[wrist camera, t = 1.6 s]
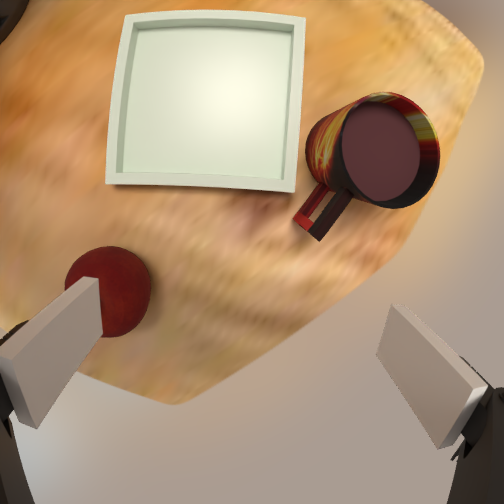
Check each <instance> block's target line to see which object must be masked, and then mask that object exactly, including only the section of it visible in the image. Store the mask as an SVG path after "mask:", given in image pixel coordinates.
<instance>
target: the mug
mask: <svg viewBox="0 0 504 504" xmlns="http://www.w3.org/2000/svg"><path fill="white" fill-rule="evenodd" d="M305 154H306V161H307V164H308V168H309V170H310V172H311V173H312V175H313V177H314V178H315V179H316V180H317V182H319V184H318V185H317V187H316V188H315V189H314V191H313V192H312V194H311V195H310V196H309V198H308V199H307V200H306V202H305V203H304V205H303V206H302V207H301V209H300V210H299V211H298V212H297V214H296V215H295V216H294V217H293V219H294V220H295V221H296V222H297V223H298V224H299V225H300V226H301V227H302V228H304V229H305V230H307V231H308V232H309V233H310V234H311V235H312V236H313V237H314V238H315V239H317V240H318V241H319V242H320V241H321V239H322V238H323V237H324V236H325V235H326V233H327V232H328V231H329V229H330V228H331V227H332V225H333V224H334V223H335V221H336V220H337V219H338V217H339V216H340V214H341V213H342V212H343V210H344V209H345V208H346V206H347V205H348V203H349V202H350V201H351V199H352V198H355V199H358V200H361V201H364V202H367V203H371V204H374V205H377V206H380V207H383V208H390V209H397V208H404V207H407V206H410V205H412V204H414V203H416V202H418V201H419V200H420V199H421V198H423V197H424V196H425V195H426V194H427V193H428V191H429V190H430V188H431V187H432V185H433V183H434V181H435V179H436V177H437V173H438V169H439V164H440V147H439V141H438V137H437V134H436V131H435V129H434V126H433V124H432V123H431V121H430V119H429V118H428V116H427V115H426V113H425V112H424V111H423V110H422V109H421V108H420V107H419V106H418V105H417V104H415V103H414V102H413V101H412V100H410V99H408V98H406V97H404V96H402V95H399V94H396V93H392V92H378V93H372V94H370V95H368V96H365V97H363V98H361V99H359V100H357V101H355V102H353V103H351V104H349V105H347V106H345V107H343V108H341V109H339V110H337V111H335V112H333V113H331V114H329V115H327V116H325V117H324V118H322V119H321V120H319V121H318V122H317V123H316V124H315V125H314V127H313V128H312V129H311V131H310V133H309V135H308V138H307V141H306V148H305ZM329 190H330V191H332V192H335V193H336V194H335V195H334V196H333V198H332V199H331V200H330V202H329V203H328V205H327V206H326V207H325V209H324V210H323V211H322V213H321V214H320V216H319V217H318V218H317V220H316V221H315V222H314V223H313V222H312V221H311V220H309V219H308V218H309V217H310V215H311V214H312V213H313V211H314V210H315V209H316V207H317V206H318V204H319V203H320V202H321V200H322V199H323V198H324V196H325V195H326V193H327V192H328V191H329Z"/></svg>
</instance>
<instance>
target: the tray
mask: <svg viewBox="0 0 504 504" xmlns="http://www.w3.org/2000/svg"><path fill="white" fill-rule="evenodd" d="M305 24H306V18H303V17H296V16H289V15H281V14H273V13H263V12H251V11H234V10H178V11H161V12H149V13H140V14H131V15H126V16H125V20H124V25H123V29H122V34H121V39H120V44H119V50H118V56H117V61H116V68H115V74H114V81H113V89H112V97H111V105H110V115H109V126H108V139H107V155H106V180H105V184H142V185H180V186H204V187H223V188H240V189H255V190H268V191H281V192H292V193H294V192H295V181H296V170H297V157H298V145H299V131H300V117H301V102H302V86H303V68H304V48H305Z"/></svg>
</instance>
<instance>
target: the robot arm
mask: <svg viewBox="0 0 504 504" xmlns="http://www.w3.org/2000/svg"><path fill="white" fill-rule="evenodd" d="M28 1H29V0H0V43H1V42H2V41H3V40H4V39H5V38H6V37H7V35H8V34H9V33H10V32H11V31H12V29H13V28H14V26H15V25H16V24H17V22H18V21H19V19H20V17H21V16H22V14H23V12H24V10H25V8H26V6H27V3H28ZM102 334H103V330H102V320H101V309H100V297H99V281H98V278H91V277H82V278H81V279H80V280H78V281H77V282H76V283H75V284H73V285H72V286H71V287H70V288H68V289H67V290H66V291H65V292H63V293H62V294H61V295H60V296H58V297H57V298H56V299H55V300H53V301H52V302H51V303H50V304H49V305H47V306H46V307H45V308H44V309H43V310H41V311H40V312H39V313H38V314H37V315H35V316H34V317H33V318H32V319H31V320H30V321H28V320H27V321H25V322H23V323H20V324H18V325H16V326H15V327H14V328H13V329H12V330H10V331H9V333H7V334H6V335H5V336H4V337H3V339H0V504H35V503H34V501H33V497H32V495H31V492H30V489H29V486H28V483H27V480H26V477H25V474H24V470H23V467H22V463H21V460H20V456H19V452H18V448H17V444H16V440H15V436H14V431H13V426H12V423H11V420H10V418H9V415H10V414H11V412H12V411H13V410H14V411H15V413H16V416H17V418H18V420H19V422H21V423H23V424H25V425H28V426H30V427H32V428H35V429H38V427H39V426H40V424H41V422H42V421H43V419H44V418H45V416H46V415H47V413H48V412H49V410H50V409H51V407H52V405H53V404H54V402H55V401H56V399H57V398H58V396H59V395H60V393H61V392H62V390H63V389H64V388H65V386H66V385H67V383H68V382H69V380H70V379H71V377H72V376H73V374H74V373H75V372H76V370H77V369H78V367H79V366H80V364H81V363H82V362H83V360H84V359H85V357H86V356H87V355H88V353H89V352H90V350H91V349H92V348H93V346H94V345H95V344H96V342H97V341H98V339H99V338H100V337H101V335H102ZM376 356H377V357H378V359H379V360H380V362H381V363H382V365H383V366H384V368H385V369H386V370H387V372H388V373H389V375H390V377H391V378H392V379H393V381H394V382H395V384H396V386H397V387H398V389H399V390H400V391H401V393H402V395H403V396H404V398H405V399H406V401H407V402H408V404H409V405H410V407H411V408H412V410H413V411H414V413H415V415H416V416H417V418H418V419H419V421H420V422H421V424H422V425H423V427H424V428H425V430H426V432H427V433H428V435H429V437H430V438H431V440H432V441H433V443H434V445H435V446H436V448H437V449H441V448H445V447H448V446H451V445H453V444H454V443H455V441H456V440H457V438H458V436H459V435H460V434H462V435H463V436H464V437H465V439H464V441H463V442H462V444H461V445H460V446H459V448H458V450H457V451H456V452H455V454H454V455H453V456H452V458H451V460H452V461H453V460H454V459H455V457H456V456H458V455H459V456H458V460H457V465H456V470H455V474H454V479H453V483H452V487H451V490H450V494H449V498H448V501H447V504H504V388H502V387H501V388H496V389H494V388H493V387H492V386H491V385H490V384H489V383H488V382H486V380H485V379H484V378H483V377H482V376H481V375H480V374H479V373H478V372H476V370H475V369H474V368H473V367H470V364H469V363H468V362H467V361H466V360H465V359H464V358H462V357H460V356H459V355H457V354H456V353H455V352H454V351H453V350H452V349H451V348H450V347H449V346H448V345H447V344H446V343H445V342H444V341H443V340H442V339H441V338H440V337H438V335H437V334H435V333H434V332H433V331H432V330H431V329H430V328H429V327H428V326H427V325H426V324H425V323H424V322H423V321H422V320H420V319H419V318H418V317H417V316H416V315H415V314H414V313H413V312H412V311H410V309H408V308H407V307H406V306H405V305H395V304H391V307H390V310H389V314H388V317H387V321H386V324H385V327H384V331H383V334H382V337H381V340H380V343H379V347H378V350H377V353H376Z"/></svg>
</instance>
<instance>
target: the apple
mask: <svg viewBox="0 0 504 504" xmlns="http://www.w3.org/2000/svg"><path fill="white" fill-rule="evenodd" d="M82 277H91V278H98V281H99V297H100V309H101V320H102V330H103V334H102V335H101V337H107V338H110V337H119V336H122V335H124V334H126V333H128V332H130V331H131V330H132V329H134V328H135V327H136V326H137V325H138V324H139V323H140V321H141V320H142V318H143V317H144V315H145V313H146V311H147V307H148V304H149V300H150V292H151V283H150V277H149V274H148V271H147V269H146V267H145V265H144V264H143V263H142V261H141V260H140V259H139V258H138V257H137V256H135V255H134V254H133V253H131V252H129V251H128V250H126V249H123V248H120V247H114V246H107V247H100V248H97V249H94V250H91V251H89V252H87V253H85V254H84V255H82V256H81V257H80V258H78V259H77V260H76V261H75V262H74V263H73V265H72V267H71V268H70V270H69V272H68V274H67V277H66V280H65V291H66V290H67V289H68V288H70V287H71V286H72V285H73V284H75V283H76V282H77V281H78V280H80V279H81V278H82Z"/></svg>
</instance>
